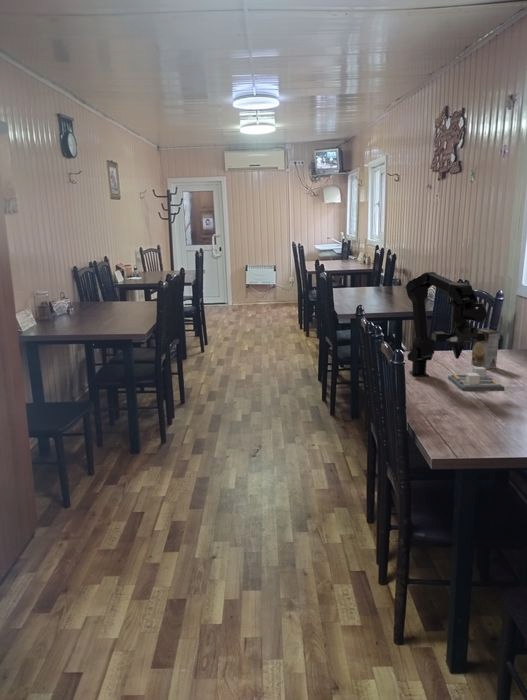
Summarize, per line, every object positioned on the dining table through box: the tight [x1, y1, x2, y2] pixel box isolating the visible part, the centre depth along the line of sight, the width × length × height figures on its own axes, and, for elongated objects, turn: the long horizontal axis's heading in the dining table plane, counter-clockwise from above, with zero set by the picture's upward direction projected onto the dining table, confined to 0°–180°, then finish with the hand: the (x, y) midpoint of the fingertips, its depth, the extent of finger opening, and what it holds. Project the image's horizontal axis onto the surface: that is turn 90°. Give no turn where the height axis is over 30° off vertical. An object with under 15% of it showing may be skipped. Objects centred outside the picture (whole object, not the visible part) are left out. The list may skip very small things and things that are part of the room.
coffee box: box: [471, 327, 500, 370], centre depth 246 cm, size 9×6×16 cm
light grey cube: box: [471, 366, 487, 378], centre depth 225 cm, size 4×4×4 cm
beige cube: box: [465, 372, 480, 384], centre depth 216 cm, size 4×4×4 cm
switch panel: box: [447, 373, 505, 392], centre depth 221 cm, size 16×16×2 cm
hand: (456, 358), depth 214 cm, fingers closed
